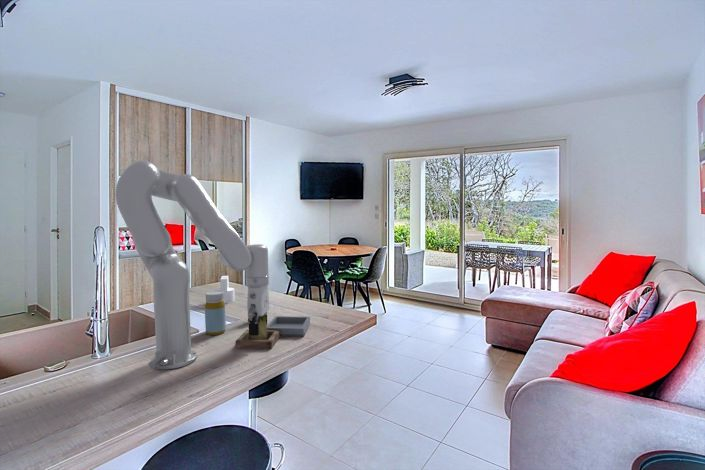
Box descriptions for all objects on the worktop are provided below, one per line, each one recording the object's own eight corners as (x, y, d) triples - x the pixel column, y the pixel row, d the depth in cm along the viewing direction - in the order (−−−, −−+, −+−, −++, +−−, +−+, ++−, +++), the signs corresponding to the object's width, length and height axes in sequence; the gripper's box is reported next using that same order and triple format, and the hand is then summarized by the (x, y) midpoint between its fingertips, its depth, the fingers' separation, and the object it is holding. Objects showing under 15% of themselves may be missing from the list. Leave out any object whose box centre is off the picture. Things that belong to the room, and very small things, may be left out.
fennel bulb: (249, 345, 123) (248, 310, 122) (250, 340, 128) (250, 306, 127) (266, 344, 124) (266, 310, 123) (267, 339, 129) (267, 306, 128)
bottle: (229, 332, 136) (228, 292, 135) (211, 337, 131) (209, 296, 129) (220, 327, 141) (219, 289, 139) (202, 332, 135) (201, 292, 134)
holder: (271, 348, 120) (271, 341, 120) (235, 348, 120) (235, 340, 120) (279, 336, 131) (279, 330, 131) (247, 336, 131) (246, 329, 131)
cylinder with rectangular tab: (216, 299, 182) (215, 276, 181) (235, 298, 185) (234, 275, 184) (214, 304, 174) (213, 279, 173) (234, 303, 176) (233, 278, 175)
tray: (303, 336, 131) (303, 328, 131) (265, 336, 132) (265, 328, 131) (310, 324, 145) (310, 316, 145) (275, 323, 146) (275, 316, 145)
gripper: (260, 286, 115) (261, 339, 116) (274, 276, 132) (275, 322, 134) (237, 286, 115) (238, 339, 117) (254, 275, 133) (255, 321, 134)
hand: (258, 330), depth 125 cm, fingers open, 9 cm apart
